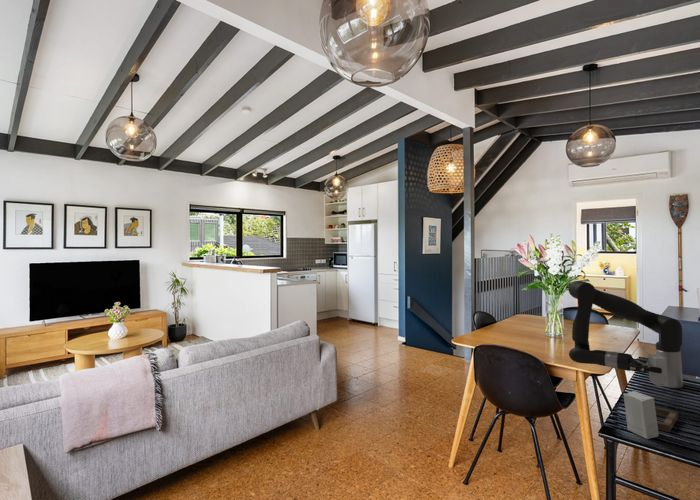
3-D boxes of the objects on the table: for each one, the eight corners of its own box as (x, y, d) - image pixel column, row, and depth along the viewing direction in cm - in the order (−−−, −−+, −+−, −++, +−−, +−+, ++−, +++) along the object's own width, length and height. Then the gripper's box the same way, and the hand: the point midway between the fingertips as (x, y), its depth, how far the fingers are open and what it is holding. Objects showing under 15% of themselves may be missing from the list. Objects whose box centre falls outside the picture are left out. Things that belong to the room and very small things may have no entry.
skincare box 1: (659, 436, 144) (656, 398, 143) (646, 440, 142) (643, 401, 142) (637, 426, 152) (635, 389, 151) (625, 429, 150) (622, 392, 150)
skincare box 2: (668, 386, 161) (666, 358, 161) (657, 386, 162) (655, 358, 161) (660, 380, 167) (658, 353, 166) (649, 380, 168) (647, 354, 167)
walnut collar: (636, 407, 166) (636, 402, 166) (678, 417, 155) (677, 411, 155) (625, 420, 157) (625, 414, 156) (669, 432, 146) (668, 426, 146)
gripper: (612, 357, 171) (659, 364, 158) (622, 348, 180) (667, 355, 167) (613, 373, 171) (660, 382, 158) (624, 364, 180) (668, 371, 167)
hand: (663, 368), depth 162 cm, fingers closed on skincare box 2, 7 cm apart
